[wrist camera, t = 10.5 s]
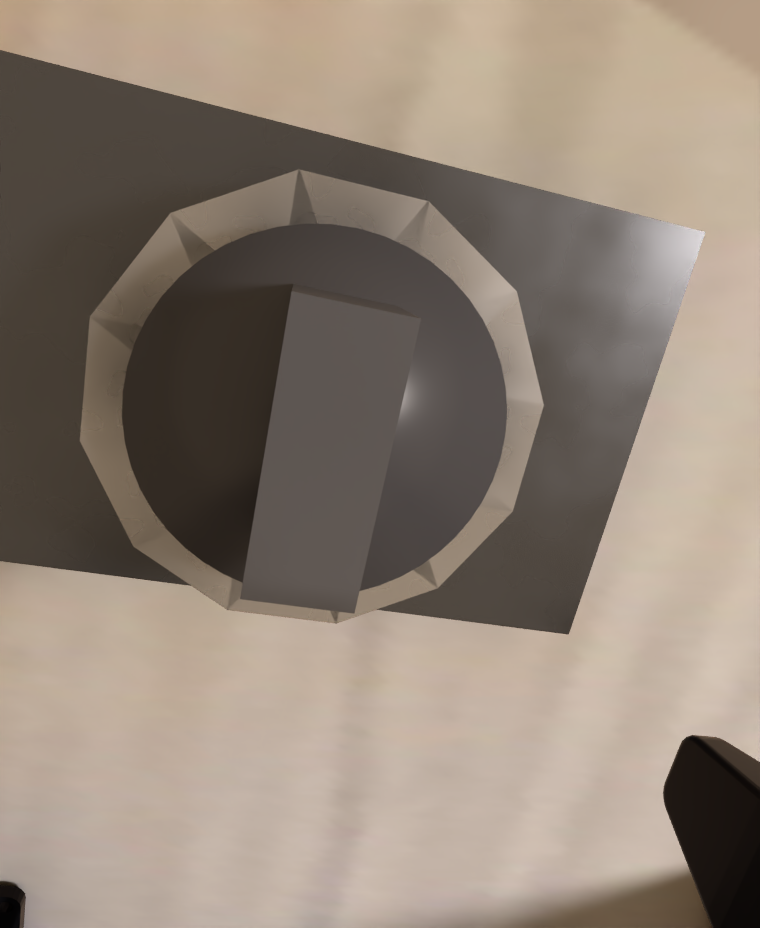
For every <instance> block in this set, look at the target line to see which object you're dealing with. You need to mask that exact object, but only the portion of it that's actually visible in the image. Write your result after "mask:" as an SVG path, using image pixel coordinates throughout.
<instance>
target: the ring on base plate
mask: <svg viewBox="0 0 760 928" xmlns="http://www.w3.org/2000/svg"><path fill="white" fill-rule="evenodd" d="M297 224H334V225H341V226H347V227H353V228H359V229H363V230H366V231H369V232H372V233H376V234H379V235H382V236H385V237H387V238H390V239H392V240H394V241H396V242H398V243H400V244H403V245H405V246H407V247H409V248H411V249H412V250H414V251H415V252H417V253H418V254H420V255H422V256H423V257H425V258H426V259H428V260H429V261H431V262H432V263H434V264H435V265H436V266H437V267H438V268H439V269H440V270H442V271H443V272H444V273H445V274H446V275H447V276H449V277H450V278H451V279H452V280H453V281H454V282H455V283H456V285H457V286H458V287H459V288H460V289H461V290H462V291H463V292H464V294H465V295H466V296H467V297H468V298H469V299H470V301H471V302H472V304H473V305H474V307H475V308H476V310H477V311H478V313H479V314H480V316H481V317H482V319H483V321H484V323H485V325H486V327H487V329H488V331H489V333H490V335H491V337H492V339H493V341H494V344H495V347H496V350H497V353H498V356H499V359H500V362H501V365H502V371H503V376H504V382H505V387H506V401H507V420H506V433H505V440H504V444H503V449H502V454H501V458H500V461H499V464H498V467H497V470H496V473H495V476H494V479H493V481H492V483H491V485H490V487H489V489H488V491H487V493H486V495H485V497H484V499H483V501H482V503H481V504H480V506H479V507H478V509H477V510H476V512H475V513H474V515H473V516H472V518H471V519H470V521H469V522H468V523H467V524H466V525H465V527H464V528H463V529H462V530H461V531H460V532H459V534H458V535H457V536H456V537H455V538H454V539H453V540H452V541H451V542H450V543H449V544H447V545H446V546H445V547H444V548H443V549H442V550H441V551H440V552H439V553H437V554H436V555H435V556H433V557H432V558H431V559H429V560H428V561H426V562H425V563H424V564H422V565H421V566H419V567H417V568H416V569H414V570H412V571H410V572H408V573H407V574H405V575H403V576H401V577H399V578H397V579H394V580H392V581H389V582H387V583H384V584H382V585H380V586H376V587H373V588H369V589H365V590H362V591H359V596H358V600H357V604H356V609H355V613H354V614H353V613H345V612H337V611H329V610H321V609H313V608H305V607H297V606H290V605H282V604H274V603H266V602H258V601H250V600H242V599H240V596H241V590H242V584H243V583H242V582H240V581H238V580H235V579H233V578H231V577H229V576H226V575H224V574H222V573H221V572H219V571H217V570H216V569H214V568H212V567H211V566H209V565H207V564H206V563H204V562H202V561H201V560H200V559H199V558H197V557H196V556H195V555H194V554H192V553H191V552H190V551H188V550H187V549H186V548H185V547H183V545H182V544H181V543H180V542H179V541H178V540H177V539H176V538H175V537H174V536H173V535H172V534H171V533H170V532H169V531H168V530H167V529H166V528H165V526H164V525H163V524H162V523H161V521H160V520H159V519H158V517H157V516H156V515H155V513H154V512H153V511H152V509H151V507H150V506H149V504H148V502H147V500H146V499H145V497H144V495H143V493H142V492H141V490H140V487H139V485H138V483H137V480H136V478H135V475H134V473H133V470H132V468H131V465H130V461H129V457H128V453H127V449H126V445H125V440H124V431H123V422H122V398H123V387H124V381H125V375H126V370H127V365H128V362H129V359H130V356H131V353H132V350H133V346H134V343H135V341H136V339H137V337H138V335H139V333H140V331H141V329H142V327H143V324H144V322H145V320H146V318H147V317H148V315H149V314H150V312H151V311H152V309H153V308H154V307H155V305H156V304H157V302H158V301H159V299H160V298H161V296H162V295H163V294H164V293H165V292H166V291H167V290H168V289H169V288H170V286H171V285H172V284H173V283H174V282H175V281H176V280H177V279H178V278H179V277H180V276H181V275H182V274H183V273H184V272H186V271H187V270H188V269H189V268H191V267H192V266H193V265H194V264H195V263H197V262H198V261H199V260H200V259H202V258H203V257H205V256H207V255H208V254H210V253H212V252H213V251H215V250H217V249H218V248H220V247H222V246H223V245H225V244H228V243H230V242H232V241H235V240H237V239H239V238H242V237H244V236H247V235H249V234H252V233H256V232H259V231H263V230H267V229H271V228H275V227H280V226H288V225H297ZM704 235H705V232H703V231H699V230H695V229H692V228H688V227H684V226H680V225H676V224H672V223H668V222H664V221H661V220H657V219H653V218H649V217H645V216H641V215H637V214H633V213H630V212H626V211H622V210H618V209H614V208H610V207H606V206H602V205H598V204H595V203H591V202H587V201H583V200H579V199H575V198H571V197H567V196H564V195H560V194H556V193H552V192H548V191H544V190H540V189H536V188H533V187H529V186H525V185H521V184H517V183H513V182H509V181H505V180H502V179H498V178H494V177H490V176H486V175H482V174H478V173H474V172H471V171H467V170H463V169H459V168H455V167H451V166H447V165H443V164H440V163H436V162H432V161H428V160H424V159H420V158H416V157H412V156H409V155H405V154H401V153H397V152H393V151H389V150H385V149H381V148H378V147H374V146H370V145H366V144H362V143H358V142H354V141H350V140H347V139H343V138H339V137H335V136H331V135H327V134H323V133H319V132H316V131H312V130H308V129H304V128H300V127H296V126H292V125H288V124H285V123H281V122H277V121H273V120H269V119H265V118H261V117H257V116H253V115H250V114H246V113H242V112H238V111H234V110H230V109H226V108H222V107H219V106H215V105H211V104H207V103H203V102H199V101H195V100H191V99H188V98H184V97H180V96H176V95H172V94H168V93H164V92H160V91H157V90H153V89H149V88H145V87H141V86H137V85H133V84H129V83H126V82H122V81H118V80H114V79H110V78H106V77H102V76H98V75H95V74H91V73H87V72H83V71H79V70H75V69H71V68H67V67H64V66H60V65H56V64H52V63H48V62H44V61H40V60H36V59H33V58H29V57H25V56H21V55H17V54H13V53H9V52H5V51H2V50H0V561H4V562H12V563H20V564H28V565H35V566H43V567H51V568H59V569H66V570H74V571H82V572H90V573H97V574H105V575H113V576H121V577H128V578H136V579H144V580H151V581H159V582H167V583H175V584H182V585H190V586H193V587H194V588H196V589H197V590H199V591H200V592H202V593H203V594H205V595H206V596H207V597H209V598H210V599H212V600H213V601H215V602H216V603H218V604H219V605H221V606H222V607H224V608H225V609H227V610H232V611H240V612H248V613H256V614H264V615H272V616H281V617H289V618H297V619H305V620H313V621H321V622H329V623H339V622H342V621H344V620H347V619H350V618H353V617H356V616H359V615H362V614H365V613H368V612H371V611H373V610H384V611H391V612H399V613H407V614H415V615H422V616H430V617H438V618H446V619H453V620H461V621H469V622H477V623H484V624H492V625H500V626H508V627H515V628H523V629H531V630H539V631H546V632H554V633H562V634H569V632H570V629H571V626H572V623H573V620H574V617H575V614H576V611H577V608H578V605H579V602H580V599H581V596H582V593H583V591H584V588H585V585H586V582H587V579H588V576H589V573H590V570H591V567H592V564H593V561H594V558H595V555H596V552H597V549H598V546H599V543H600V541H601V538H602V535H603V532H604V529H605V526H606V523H607V520H608V517H609V514H610V511H611V508H612V505H613V502H614V499H615V496H616V494H617V491H618V488H619V485H620V482H621V479H622V476H623V473H624V470H625V467H626V464H627V461H628V458H629V455H630V452H631V449H632V446H633V444H634V441H635V438H636V435H637V432H638V429H639V426H640V423H641V420H642V417H643V414H644V411H645V408H646V405H647V402H648V399H649V397H650V394H651V391H652V388H653V385H654V382H655V379H656V376H657V373H658V370H659V367H660V364H661V361H662V358H663V355H664V352H665V349H666V347H667V344H668V341H669V338H670V335H671V332H672V329H673V326H674V323H675V320H676V317H677V314H678V311H679V308H680V305H681V302H682V299H683V297H684V294H685V291H686V288H687V285H688V282H689V279H690V276H691V273H692V270H693V267H694V264H695V261H696V258H697V255H698V252H699V250H700V247H701V244H702V241H703V238H704Z"/></svg>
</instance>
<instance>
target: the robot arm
mask: <svg viewBox="0 0 760 928" xmlns="http://www.w3.org/2000/svg"><path fill="white" fill-rule="evenodd" d="M663 796H664V803H665V807H666V810H667V813H668V815H669V818H670V820H671V823H672V825H673V828H674V831H675V833H676V836H677V838H678V841H679V844H680V846H681V849H682V851H683V854H684V856H685V859H686V862H687V864H688V867H689V869H690V872H691V875H692V877H693V880H694V882H695V885H696V887H697V890H698V893H699V895H700V898H701V900H702V903H703V905H704V908H705V911H706V913H707V916H708V918H709V921H710V923H711V925H712V928H760V762H759V761H757V760H755V759H754V758H752V757H751V756H749V755H747V754H746V753H744V752H742V751H741V750H739V749H737V748H736V747H734V746H733V745H731V744H729V743H728V742H726V741H724V740H722V739H720V738H717V737H708V736H697V735H691V736H688V737H686V738H685V739H684V740H683V741H682V743H681V745H680V747H679V749H678V752H677V754H676V757H675V759H674V762H673V764H672V767H671V769H670V772H669V774H668V777H667V779H666V781H665V785H664V791H663ZM25 899H26V897H25V893H24V892H23V891H22V890H21V889H19V888H18V887H13V886H0V928H23V927H24V913H25Z"/></svg>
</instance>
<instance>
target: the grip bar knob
mask: <svg viewBox="0 0 760 928" xmlns="http://www.w3.org/2000/svg"><path fill="white" fill-rule="evenodd" d="M506 420H507V401H506V387H505V382H504V376H503V371H502V365H501V362H500V359H499V356H498V353H497V350H496V347H495V344H494V341H493V339H492V337H491V335H490V333H489V331H488V329H487V327H486V325H485V323H484V321H483V319H482V317H481V316H480V314H479V313H478V311H477V310H476V308H475V307H474V305H473V304H472V302H471V301H470V299H469V298H468V297H467V296H466V295H465V294H464V292H463V291H462V290H461V289H460V288H459V287H458V286H457V285H456V283H455V282H454V281H453V280H452V279H451V278H450V277H449V276H447V275H446V274H445V273H444V272H443V271H442V270H440V269H439V268H438V267H437V266H436V265H435V264H434V263H432V262H431V261H429V260H428V259H426V258H425V257H423V256H422V255H420V254H418V253H417V252H415V251H414V250H412V249H411V248H409V247H407V246H405V245H403V244H400V243H398V242H396V241H394V240H392V239H390V238H387V237H385V236H382V235H379V234H376V233H372V232H369V231H366V230H363V229H359V228H353V227H347V226H341V225H334V224H297V225H288V226H280V227H275V228H271V229H267V230H263V231H259V232H256V233H252V234H249V235H247V236H244V237H242V238H239V239H237V240H235V241H232V242H230V243H228V244H225V245H223V246H222V247H220V248H218V249H217V250H215V251H213V252H212V253H210V254H208V255H207V256H205V257H203V258H202V259H200V260H199V261H198V262H197V263H195V264H194V265H193V266H192V267H191V268H189V269H188V270H187V271H186V272H184V273H183V274H182V275H181V276H180V277H179V278H178V279H177V280H176V281H175V282H174V283H173V284H172V285H171V286H170V288H169V289H168V290H167V291H166V292H165V293H164V294H163V295H162V296H161V298H160V299H159V301H158V302H157V304H156V305H155V307H154V308H153V309H152V311H151V312H150V314H149V315H148V317H147V318H146V320H145V322H144V324H143V327H142V329H141V331H140V333H139V335H138V337H137V339H136V341H135V343H134V346H133V350H132V353H131V356H130V359H129V362H128V365H127V370H126V375H125V381H124V387H123V398H122V422H123V431H124V440H125V445H126V449H127V453H128V457H129V461H130V465H131V468H132V470H133V473H134V475H135V478H136V480H137V483H138V485H139V487H140V490H141V492H142V493H143V495H144V497H145V499H146V500H147V502H148V504H149V506H150V507H151V509H152V511H153V512H154V513H155V515H156V516H157V517H158V519H159V520H160V521H161V523H162V524H163V525H164V526H165V528H166V529H167V530H168V531H169V532H170V533H171V534H172V535H173V536H174V537H175V538H176V539H177V540H178V541H179V542H180V543H181V544H182V545H183V547H185V548H186V549H187V550H188V551H190V552H191V553H192V554H194V555H195V556H196V557H197V558H199V559H200V560H201V561H202V562H204V563H206V564H207V565H209V566H211V567H212V568H214V569H216V570H217V571H219V572H221V573H222V574H224V575H226V576H229V577H231V578H233V579H235V580H238V581H240V582H242V583H243V584H242V590H241V596H240V599H242V600H250V601H258V602H266V603H274V604H282V605H290V606H297V607H305V608H313V609H321V610H329V611H337V612H345V613H353V614H354V613H355V609H356V604H357V600H358V596H359V591H362V590H365V589H369V588H373V587H376V586H380V585H382V584H384V583H387V582H389V581H392V580H394V579H397V578H399V577H401V576H403V575H405V574H407V573H408V572H410V571H412V570H414V569H416V568H417V567H419V566H421V565H422V564H424V563H425V562H426V561H428V560H429V559H431V558H432V557H433V556H435V555H436V554H437V553H439V552H440V551H441V550H442V549H443V548H444V547H445V546H446V545H447V544H449V543H450V542H451V541H452V540H453V539H454V538H455V537H456V536H457V535H458V534H459V532H460V531H461V530H462V529H463V528H464V527H465V525H466V524H467V523H468V522H469V521H470V519H471V518H472V516H473V515H474V513H475V512H476V510H477V509H478V507H479V506H480V504H481V503H482V501H483V499H484V497H485V495H486V493H487V491H488V489H489V487H490V485H491V483H492V481H493V479H494V476H495V473H496V470H497V467H498V464H499V461H500V458H501V454H502V449H503V444H504V440H505V433H506Z"/></svg>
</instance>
